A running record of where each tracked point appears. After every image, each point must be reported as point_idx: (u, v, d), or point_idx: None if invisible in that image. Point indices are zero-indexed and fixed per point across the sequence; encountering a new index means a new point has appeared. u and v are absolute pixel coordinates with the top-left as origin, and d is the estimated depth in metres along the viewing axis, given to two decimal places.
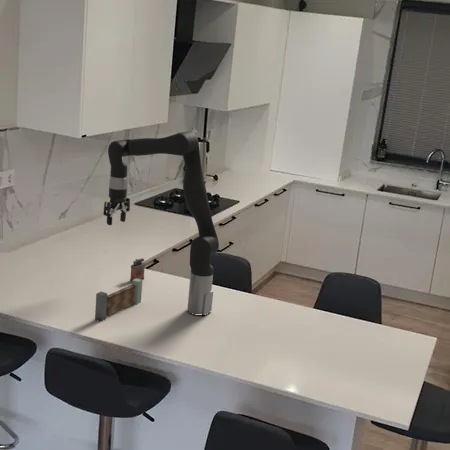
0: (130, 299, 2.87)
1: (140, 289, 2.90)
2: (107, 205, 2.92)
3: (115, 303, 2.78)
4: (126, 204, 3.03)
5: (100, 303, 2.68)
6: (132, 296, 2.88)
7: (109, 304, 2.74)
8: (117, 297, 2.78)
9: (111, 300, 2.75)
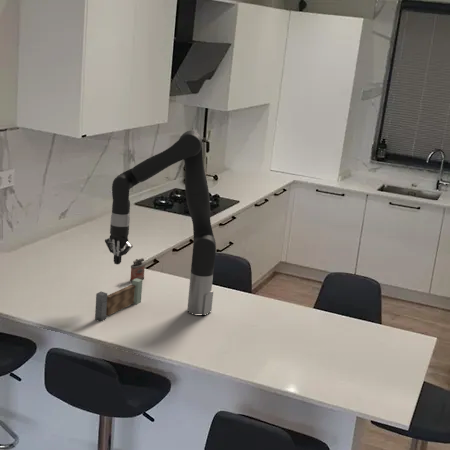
0: (130, 299, 2.87)
1: (140, 289, 2.90)
2: None
3: (115, 303, 2.78)
4: None
5: (100, 303, 2.68)
6: (132, 296, 2.88)
7: (109, 304, 2.74)
8: (117, 297, 2.78)
9: (111, 300, 2.75)
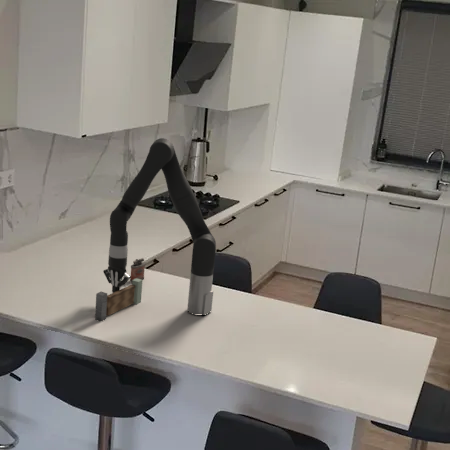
0: (130, 299, 2.87)
1: (140, 289, 2.90)
2: None
3: (115, 303, 2.78)
4: None
5: (100, 303, 2.68)
6: (132, 296, 2.88)
7: (109, 304, 2.74)
8: (117, 297, 2.78)
9: (111, 300, 2.75)
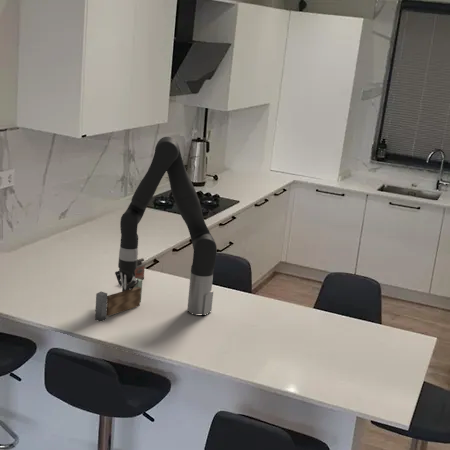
0: (135, 301, 2.85)
1: None
2: None
3: (116, 304, 2.77)
4: None
5: (100, 303, 2.68)
6: (138, 298, 2.86)
7: (109, 304, 2.74)
8: (119, 298, 2.77)
9: (112, 300, 2.74)
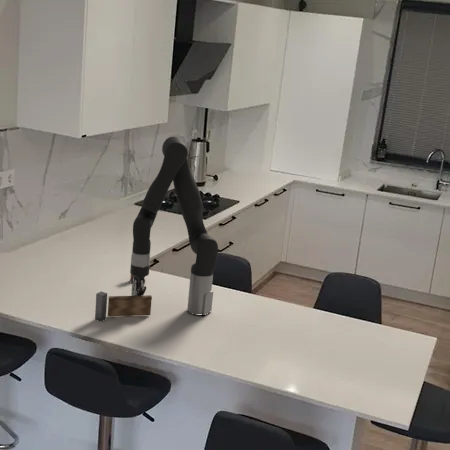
0: (144, 309, 2.78)
1: None
2: None
3: (119, 307, 2.74)
4: None
5: (100, 303, 2.68)
6: (148, 307, 2.78)
7: (110, 305, 2.73)
8: (122, 301, 2.74)
9: (113, 302, 2.73)
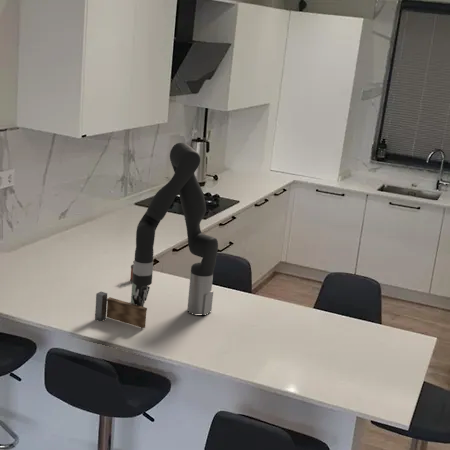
0: (138, 320, 2.67)
1: None
2: None
3: (116, 311, 2.71)
4: None
5: (100, 303, 2.68)
6: (141, 319, 2.66)
7: (108, 306, 2.72)
8: (119, 306, 2.70)
9: (110, 304, 2.71)
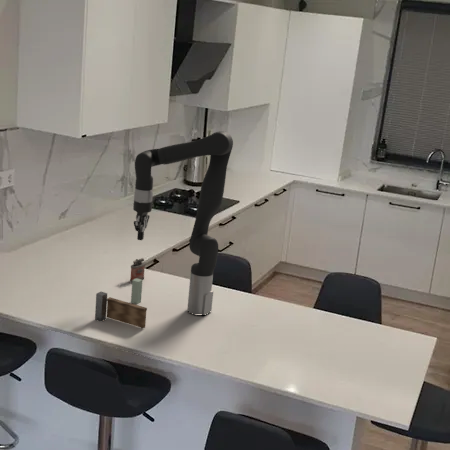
0: (138, 320, 2.67)
1: (140, 289, 2.90)
2: None
3: (116, 311, 2.71)
4: None
5: (100, 303, 2.68)
6: (141, 319, 2.66)
7: (108, 306, 2.72)
8: (119, 306, 2.70)
9: (110, 304, 2.71)
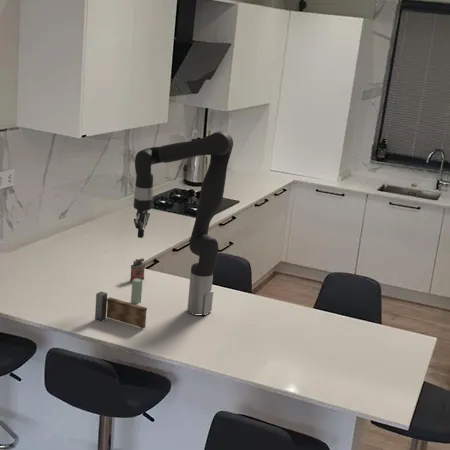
0: (138, 320, 2.67)
1: (140, 289, 2.90)
2: None
3: (116, 311, 2.71)
4: None
5: (100, 303, 2.68)
6: (141, 319, 2.66)
7: (108, 306, 2.72)
8: (119, 306, 2.70)
9: (110, 304, 2.71)
